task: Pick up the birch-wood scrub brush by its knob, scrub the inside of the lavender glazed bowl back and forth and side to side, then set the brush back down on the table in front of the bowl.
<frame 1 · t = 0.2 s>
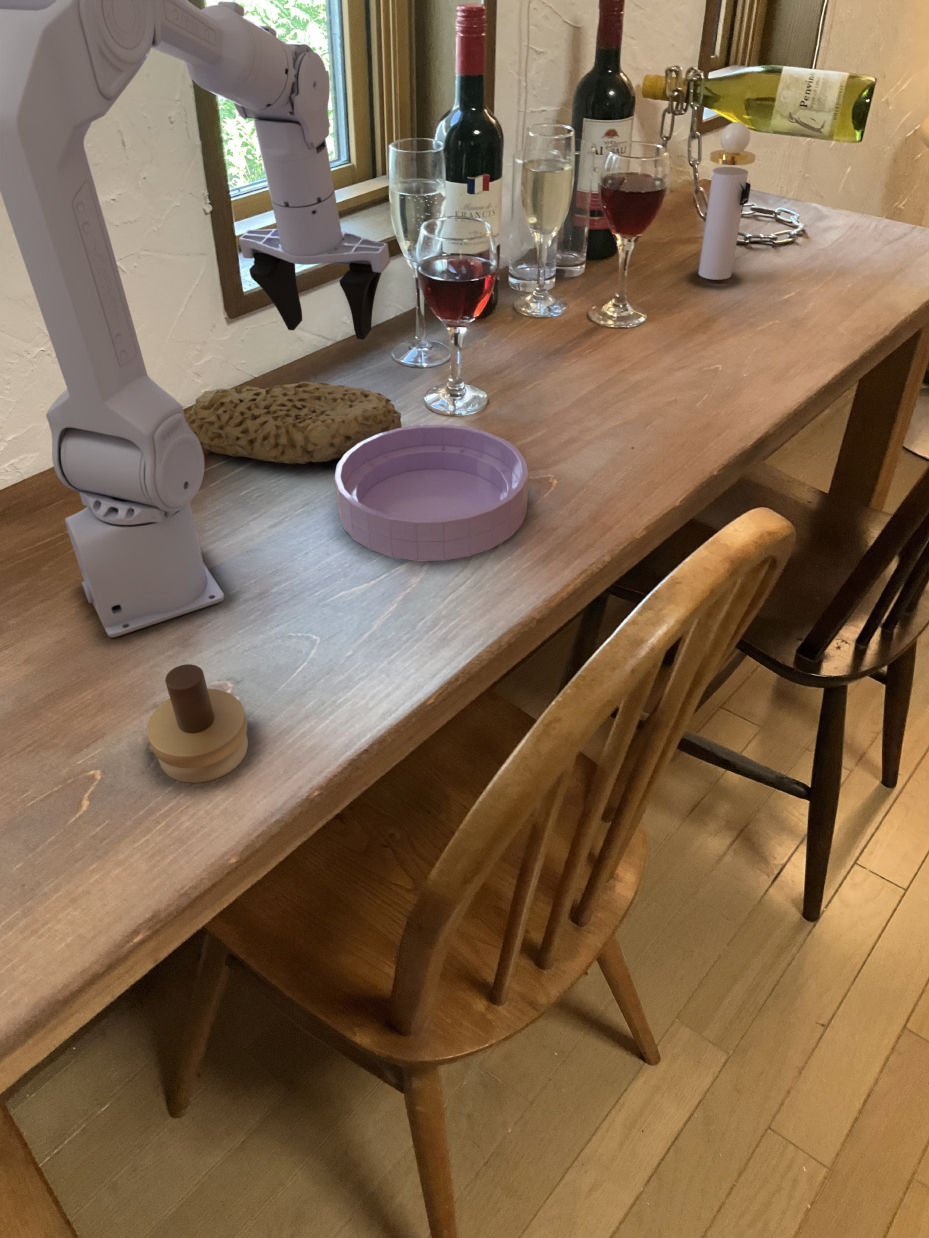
hand: (329, 329, 96), 11 cm above the table, tool pointing down, fingers open, 7 cm apart
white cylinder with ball: (713, 280, 135), on the table
bowl: (433, 512, 89), on the table
sponge: (302, 452, 98), on the table
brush: (203, 749, 66), on the table
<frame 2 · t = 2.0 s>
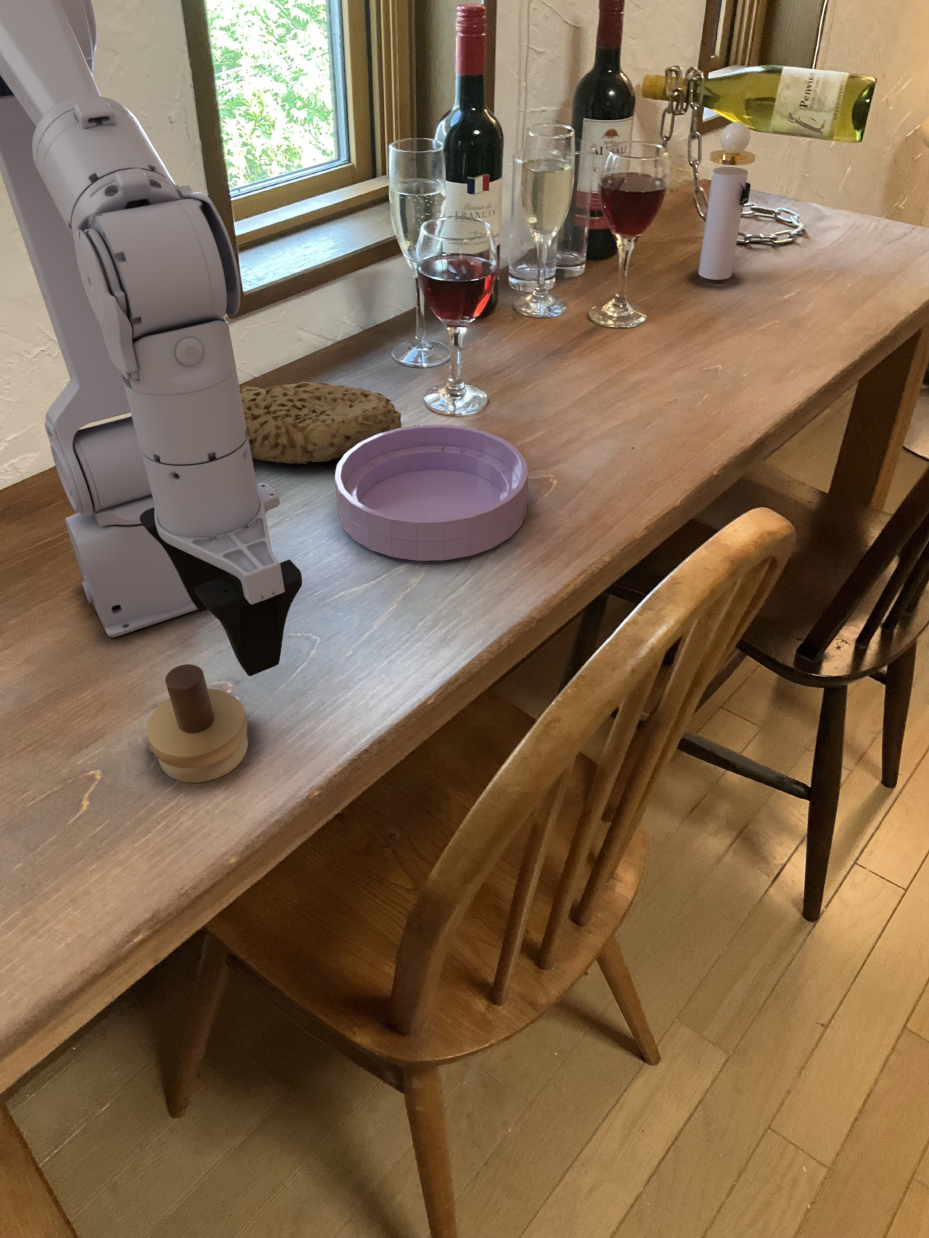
hand: (236, 634, 60), 10 cm above the table, tool pointing down, fingers open, 7 cm apart
nothing on the table moved.
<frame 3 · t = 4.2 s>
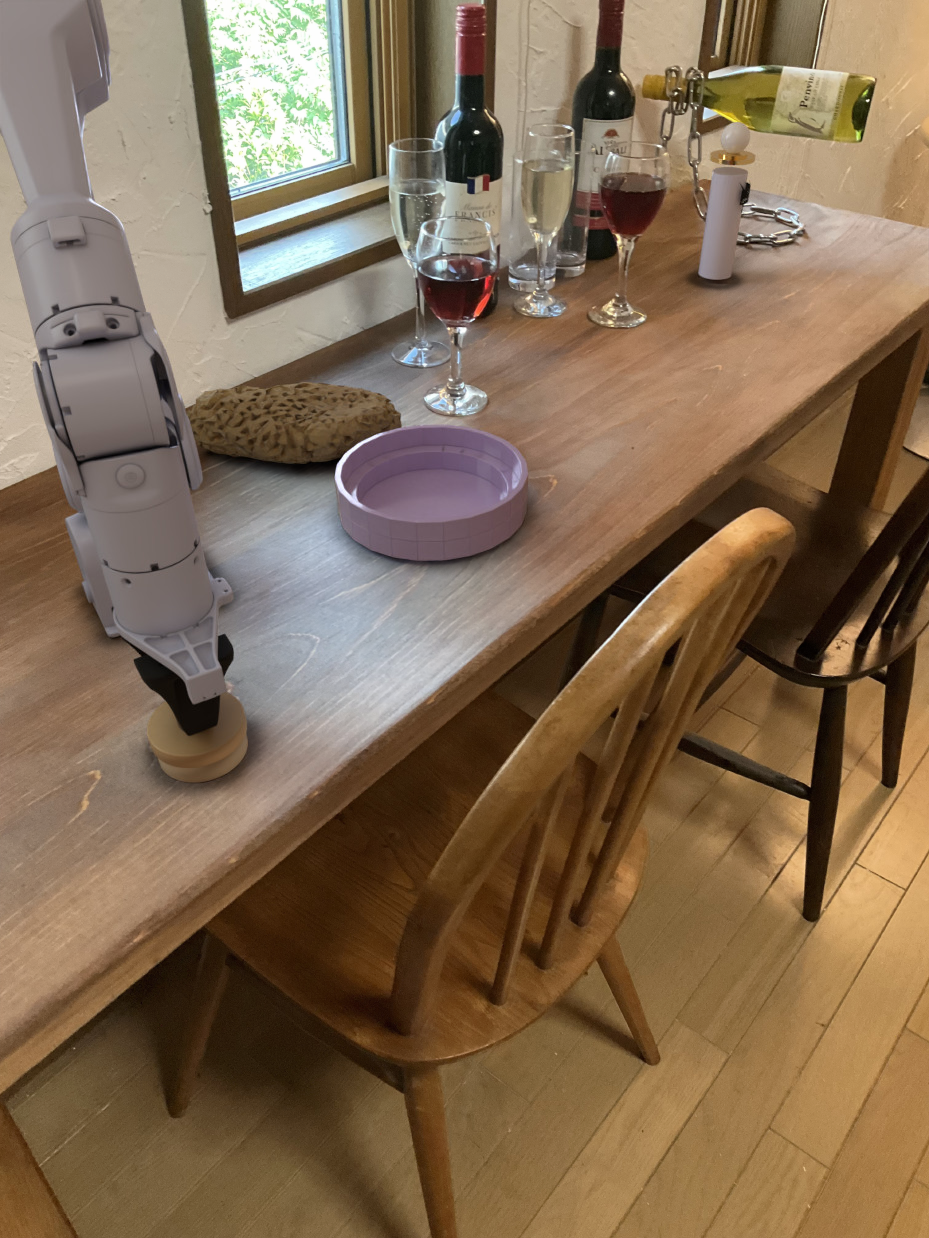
hand: (194, 714, 64), 3 cm above the table, tool pointing down, fingers closed on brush, 2 cm apart
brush: (203, 749, 66), on the table, touching gripper
everything else where it was.
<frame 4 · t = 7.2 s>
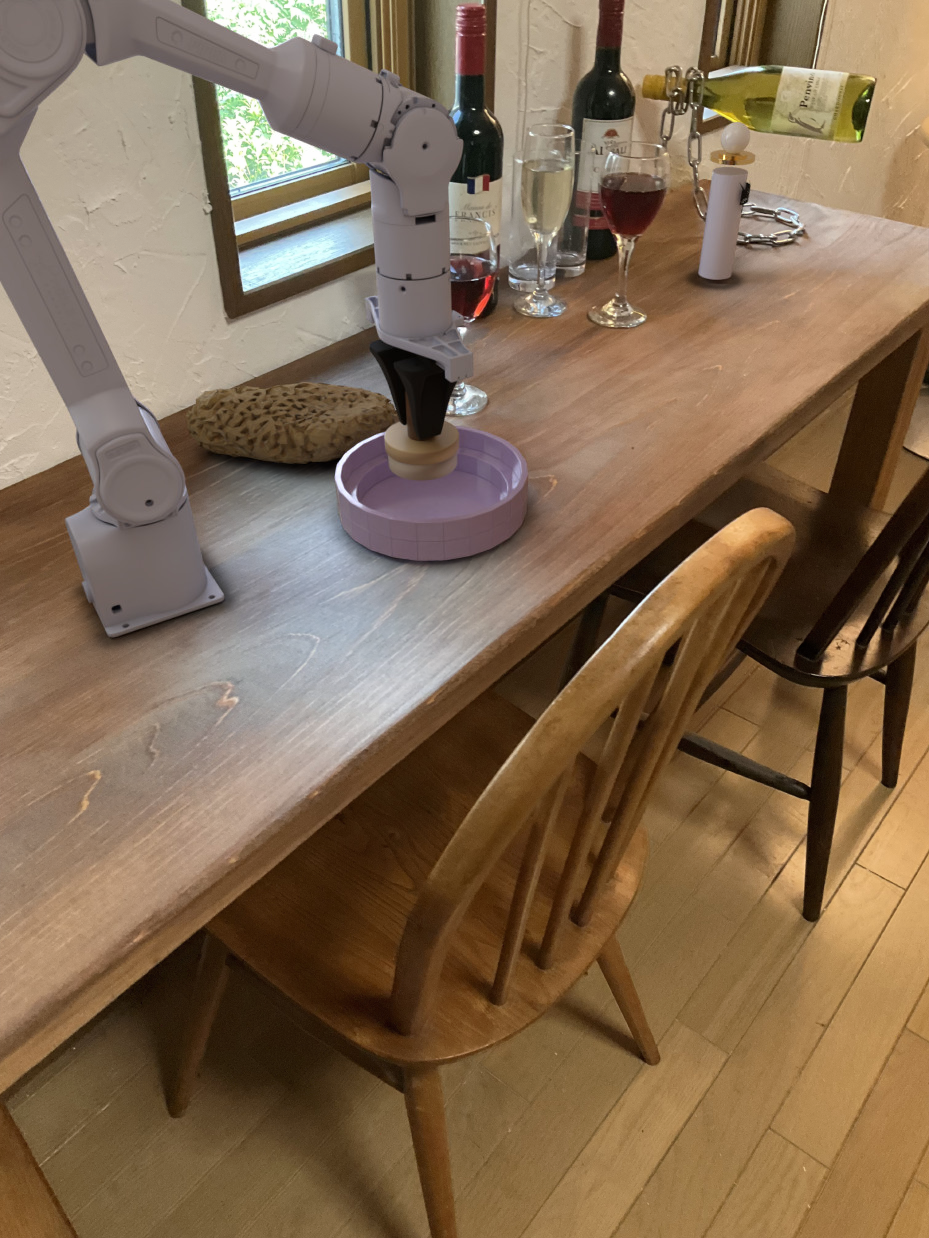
hand: (420, 428, 82), 9 cm above the table, tool pointing down, fingers closed on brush, 2 cm apart
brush: (423, 463, 84), point 6 cm above the table, touching gripper
everything else where it was.
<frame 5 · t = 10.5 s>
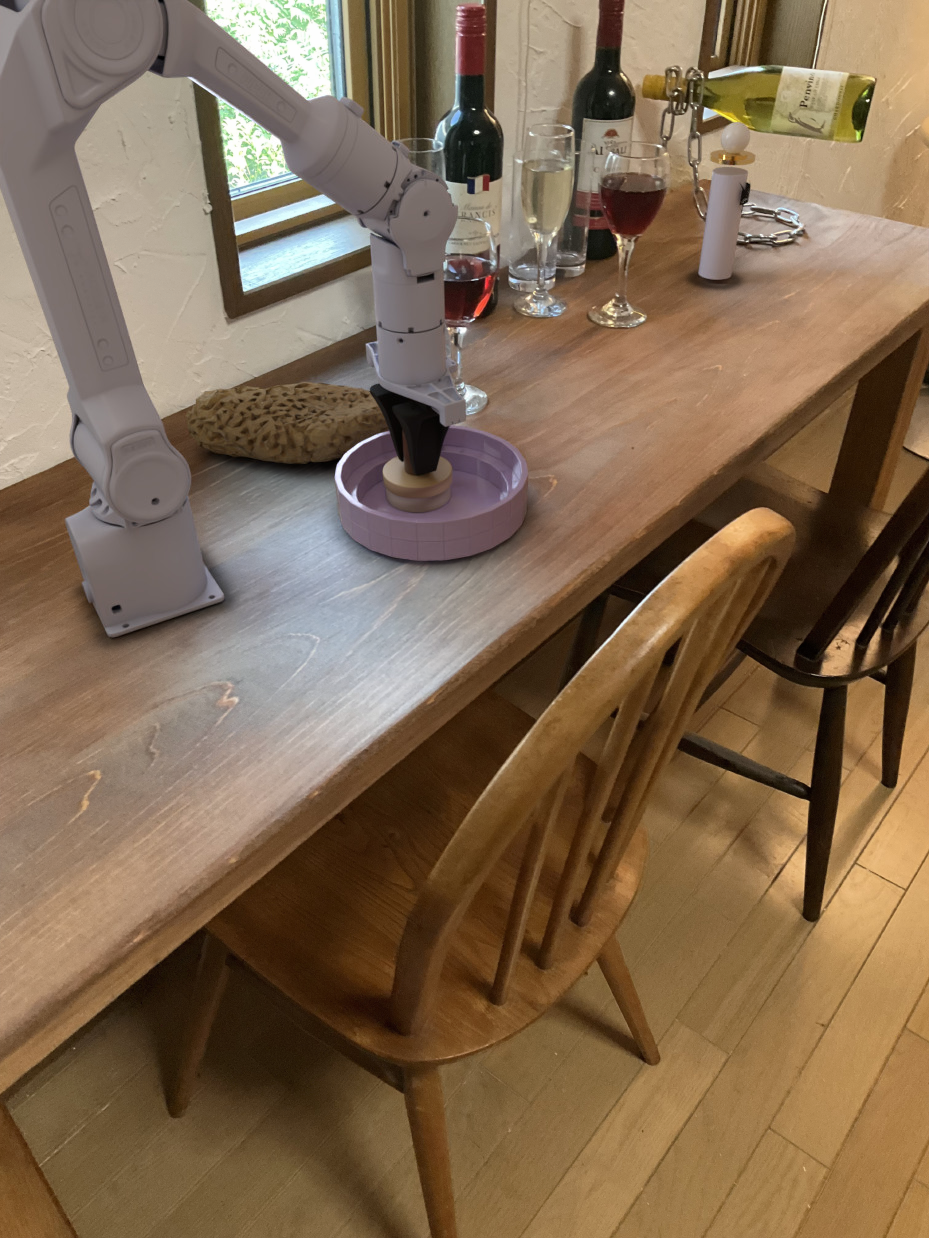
hand: (417, 464, 88), 4 cm above the table, tool pointing down, fingers closed on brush, 2 cm apart
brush: (418, 495, 90), point 1 cm above the table, touching gripper
everything else where it was.
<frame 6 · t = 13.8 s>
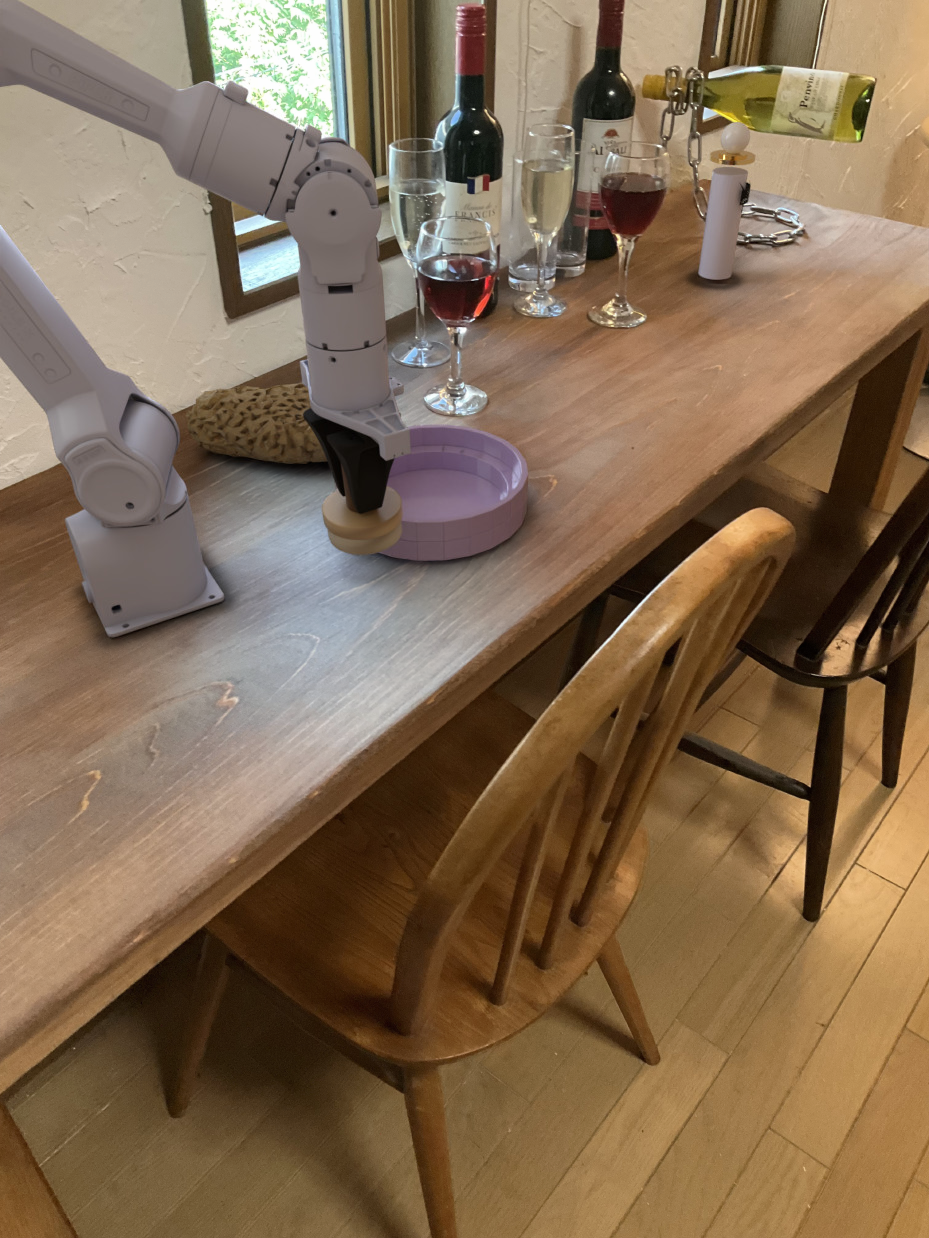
hand: (361, 500, 76), 8 cm above the table, tool pointing down, fingers closed on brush, 2 cm apart
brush: (365, 532, 78), point 4 cm above the table, touching gripper
everything else where it was.
when the fingers open (3 cm above the table, at t = 17.1 s): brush stays where it is, on the table.
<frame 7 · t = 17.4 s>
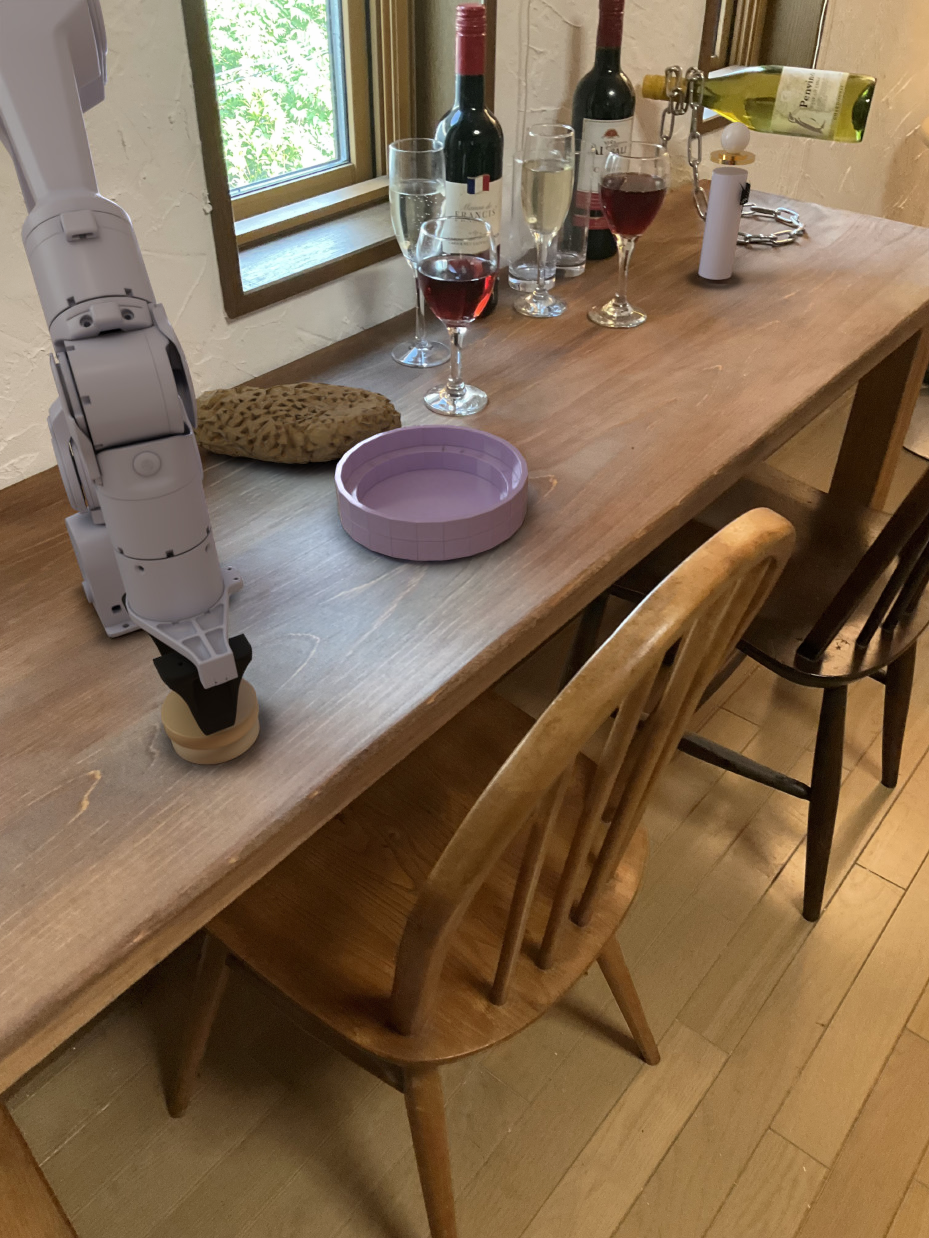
hand: (204, 700, 65), 3 cm above the table, tool pointing down, fingers open, 5 cm apart
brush: (216, 732, 67), on the table
everything else where it was.
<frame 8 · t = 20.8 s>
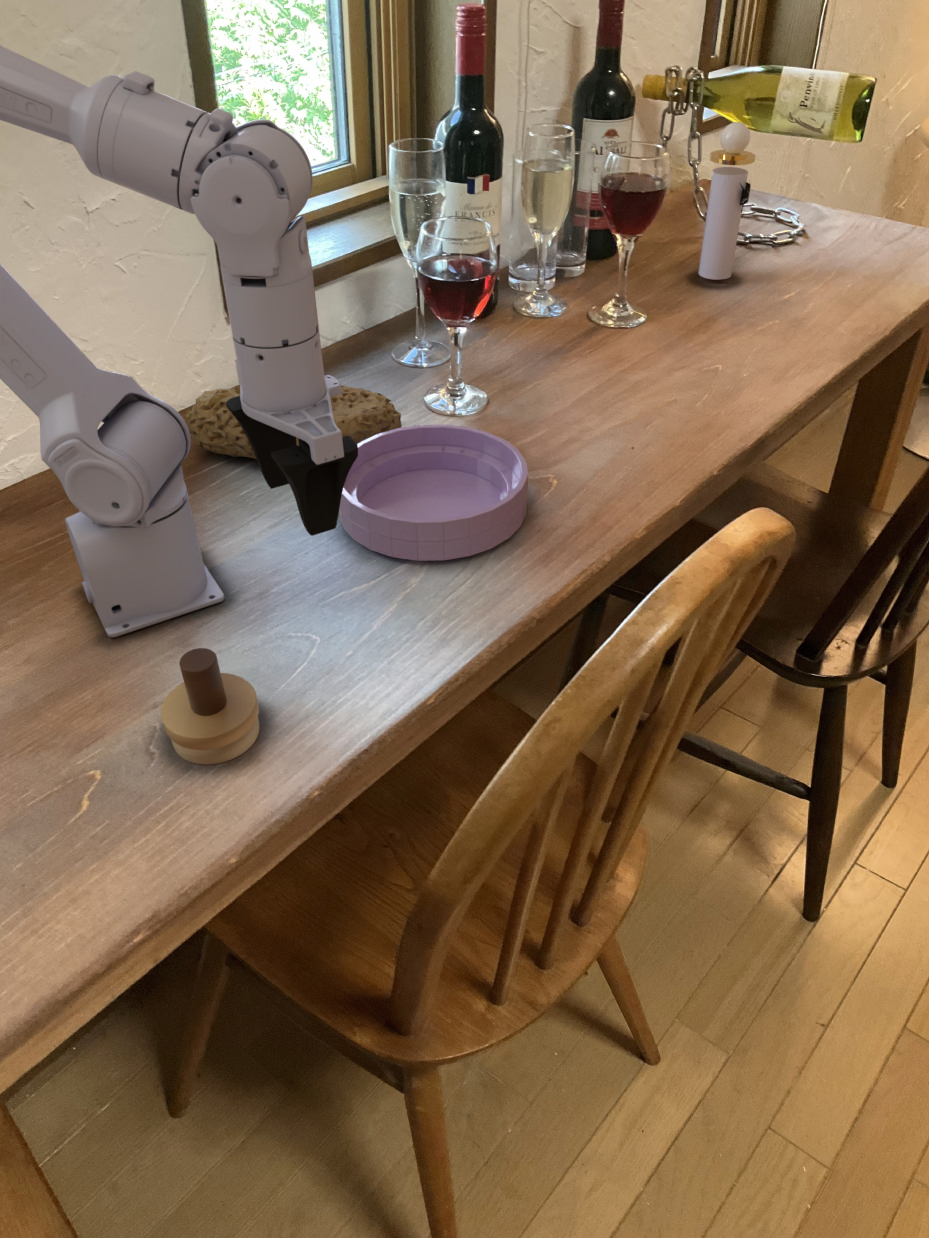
hand: (301, 506, 72), 9 cm above the table, tool pointing down, fingers open, 7 cm apart
nothing on the table moved.
at the end: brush tilted 0°; the gripper is holding nothing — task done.
